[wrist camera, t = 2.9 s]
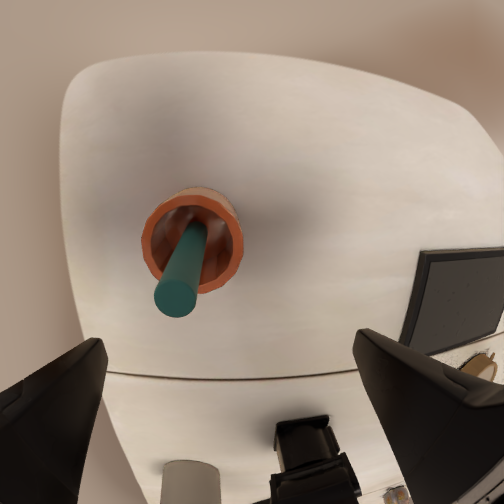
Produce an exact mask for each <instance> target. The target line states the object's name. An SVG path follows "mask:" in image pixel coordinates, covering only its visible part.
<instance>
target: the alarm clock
mask: <svg viewBox="0 0 504 504" xmlns="http://www.w3.org/2000/svg"><path fill="white" fill-rule="evenodd" d="M494 355H495V353H494V352H493V354H492V355H491V357H490V358H488V357H487V356H486V355H485V354H480V355H478V356H476V357H474V358H473V359H472V360H471V361H469V362H468V363H467V364H466V365H465V366H464V367H463V368H462V369H461V370H460V371H463V372H465V373H468V374H471V375H473V376H476V377H479V378H482V379H485V380H488V381H491V382H493V380H494V378H495V375H496V372H497V364H496V363H495V362H493V361H492V359H493V358H494Z"/></svg>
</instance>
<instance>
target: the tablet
mask: <svg viewBox="0 0 504 504" xmlns="http://www.w3.org/2000/svg"><path fill="white" fill-rule="evenodd" d="M503 310H504V247H503V248H483V249H462V250H440V251H421V252H420V257H419V263H418V268H417V273H416V278H415V283H414V287H413V292H412V296H411V300H410V304H409V308H408V312H407V316H406V320H405V324H404V327H403V331H402V334H401V337H400V341H399V343H401V344H403V345H405V346H407V347H409V348H411V349H414V350H416V351H418V352H420V353H422V354H424V355H427V356H432V355H435V354H438V353H441V352H444V351H447V350H450V349H453V348H456V347H459V346H462V345H465V344H467V343H470V342H473V341H475V340H478V339H480V338H483V337H486V336H488V335H490V334H493V333H495V331H496V329H497V326H498V324H499V321H500V318H501V316H502V313H503Z"/></svg>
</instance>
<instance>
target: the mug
mask: <svg viewBox="0 0 504 504" xmlns="http://www.w3.org/2000/svg"><path fill="white" fill-rule="evenodd" d="M408 498H409V495H408V491H407V489H406V488H405V487H398V488H395V489H391V490H390V491H389V492H388V493H386V494H385V495H384V503H385V504H409V499H408Z"/></svg>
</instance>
